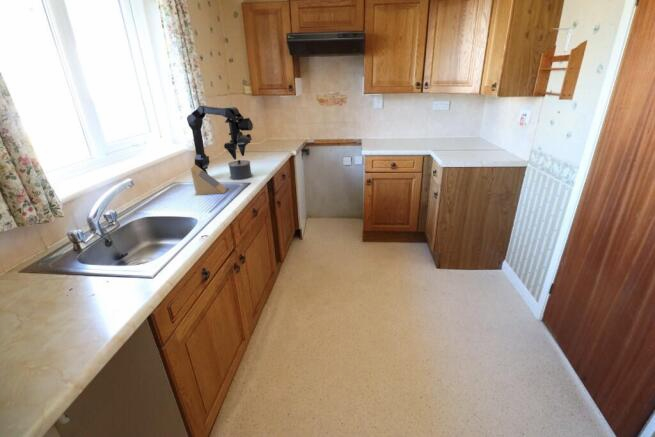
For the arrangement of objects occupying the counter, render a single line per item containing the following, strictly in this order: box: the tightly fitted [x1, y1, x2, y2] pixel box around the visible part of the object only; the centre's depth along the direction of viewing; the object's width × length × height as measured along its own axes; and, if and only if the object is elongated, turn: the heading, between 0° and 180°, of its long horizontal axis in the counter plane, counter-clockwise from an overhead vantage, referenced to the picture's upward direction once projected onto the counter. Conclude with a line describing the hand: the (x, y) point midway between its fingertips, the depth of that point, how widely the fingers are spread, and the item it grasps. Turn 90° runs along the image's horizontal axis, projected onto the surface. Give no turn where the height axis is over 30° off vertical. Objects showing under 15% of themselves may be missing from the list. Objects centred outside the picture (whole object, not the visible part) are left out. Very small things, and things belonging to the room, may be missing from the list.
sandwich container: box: [190, 164, 228, 196], centre depth 177 cm, size 9×15×15 cm, turn 94°
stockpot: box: [227, 159, 253, 180], centre depth 204 cm, size 14×14×11 cm
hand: (239, 157), depth 190 cm, fingers open, 9 cm apart
